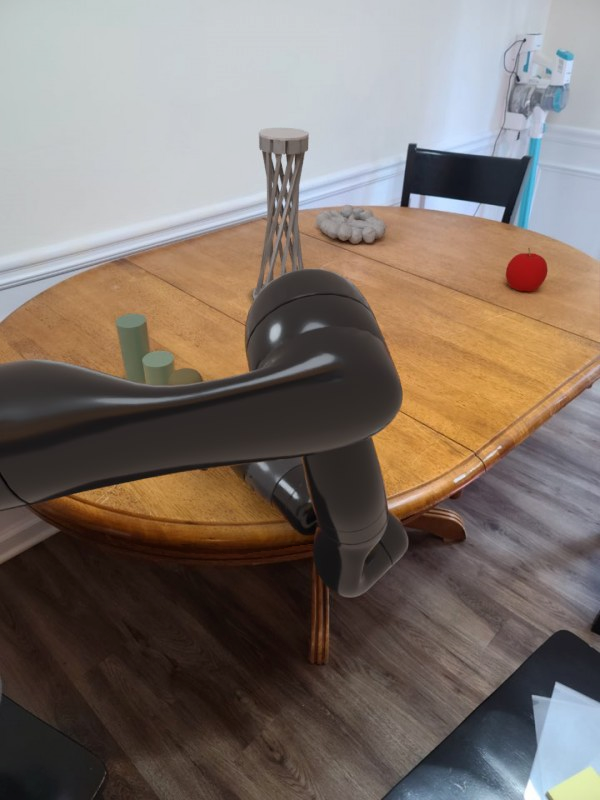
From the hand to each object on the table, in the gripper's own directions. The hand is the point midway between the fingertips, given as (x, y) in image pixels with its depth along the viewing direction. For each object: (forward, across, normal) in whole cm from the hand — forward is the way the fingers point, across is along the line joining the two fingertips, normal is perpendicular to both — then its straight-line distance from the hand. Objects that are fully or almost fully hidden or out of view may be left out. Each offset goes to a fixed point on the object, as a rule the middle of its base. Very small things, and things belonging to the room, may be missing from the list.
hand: (205, 407), depth 82 cm
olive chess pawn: (+5, 0, +8) cm, 10 cm away
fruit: (+5, -92, +8) cm, 93 cm away
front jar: (+15, 0, +8) cm, 17 cm away
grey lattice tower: (+35, -41, +8) cm, 55 cm away
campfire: (+57, -83, +8) cm, 101 cm away
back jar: (+24, 0, +8) cm, 25 cm away
